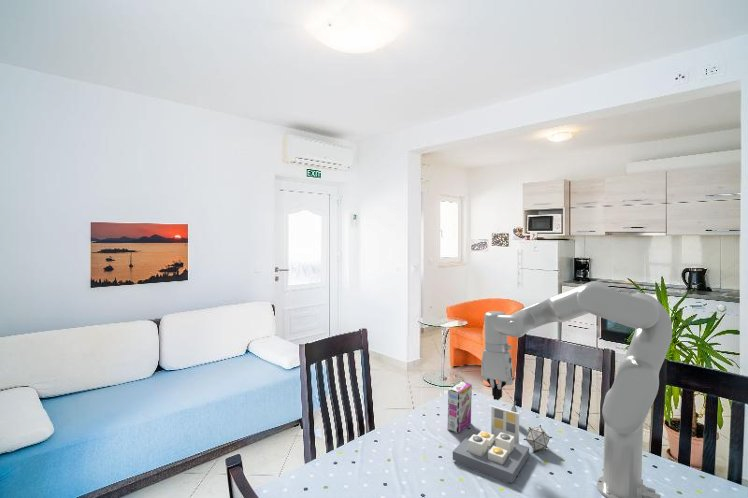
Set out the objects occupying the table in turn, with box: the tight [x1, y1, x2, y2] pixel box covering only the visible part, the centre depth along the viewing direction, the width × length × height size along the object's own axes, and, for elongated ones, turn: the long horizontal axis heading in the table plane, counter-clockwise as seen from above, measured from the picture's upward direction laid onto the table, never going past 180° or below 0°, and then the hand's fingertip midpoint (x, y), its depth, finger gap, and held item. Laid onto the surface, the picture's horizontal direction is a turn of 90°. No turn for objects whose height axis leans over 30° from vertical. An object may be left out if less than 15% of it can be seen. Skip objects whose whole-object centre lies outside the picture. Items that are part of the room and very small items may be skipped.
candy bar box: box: [447, 381, 473, 434], centre depth 152 cm, size 11×5×16 cm, turn 139°
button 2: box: [478, 430, 494, 448], centre depth 135 cm, size 5×5×5 cm
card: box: [490, 405, 520, 444], centre depth 142 cm, size 10×3×12 cm, turn 53°
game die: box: [523, 424, 553, 454], centre depth 136 cm, size 9×8×10 cm
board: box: [452, 429, 530, 484], centre depth 131 cm, size 20×18×4 cm
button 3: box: [496, 432, 514, 455], centre depth 131 cm, size 5×5×5 cm
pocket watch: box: [510, 400, 518, 413], centre depth 154 cm, size 8×8×10 cm
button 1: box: [468, 434, 487, 457], centre depth 130 cm, size 5×5×5 cm
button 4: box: [488, 446, 508, 465], centre depth 126 cm, size 5×5×5 cm
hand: (497, 398), depth 135 cm, fingers closed
